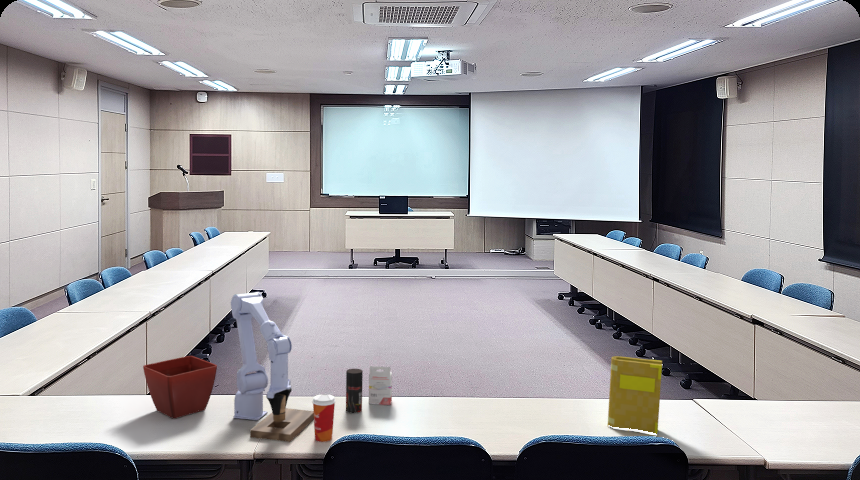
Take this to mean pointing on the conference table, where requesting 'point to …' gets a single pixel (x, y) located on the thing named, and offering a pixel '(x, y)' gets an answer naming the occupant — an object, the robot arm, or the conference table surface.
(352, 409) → the deodorant
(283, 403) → the peg
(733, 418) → the conference table surface
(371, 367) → the ink cartridge box
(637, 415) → the book
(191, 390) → the plant pot
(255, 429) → the socket board
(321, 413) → the paper cup
